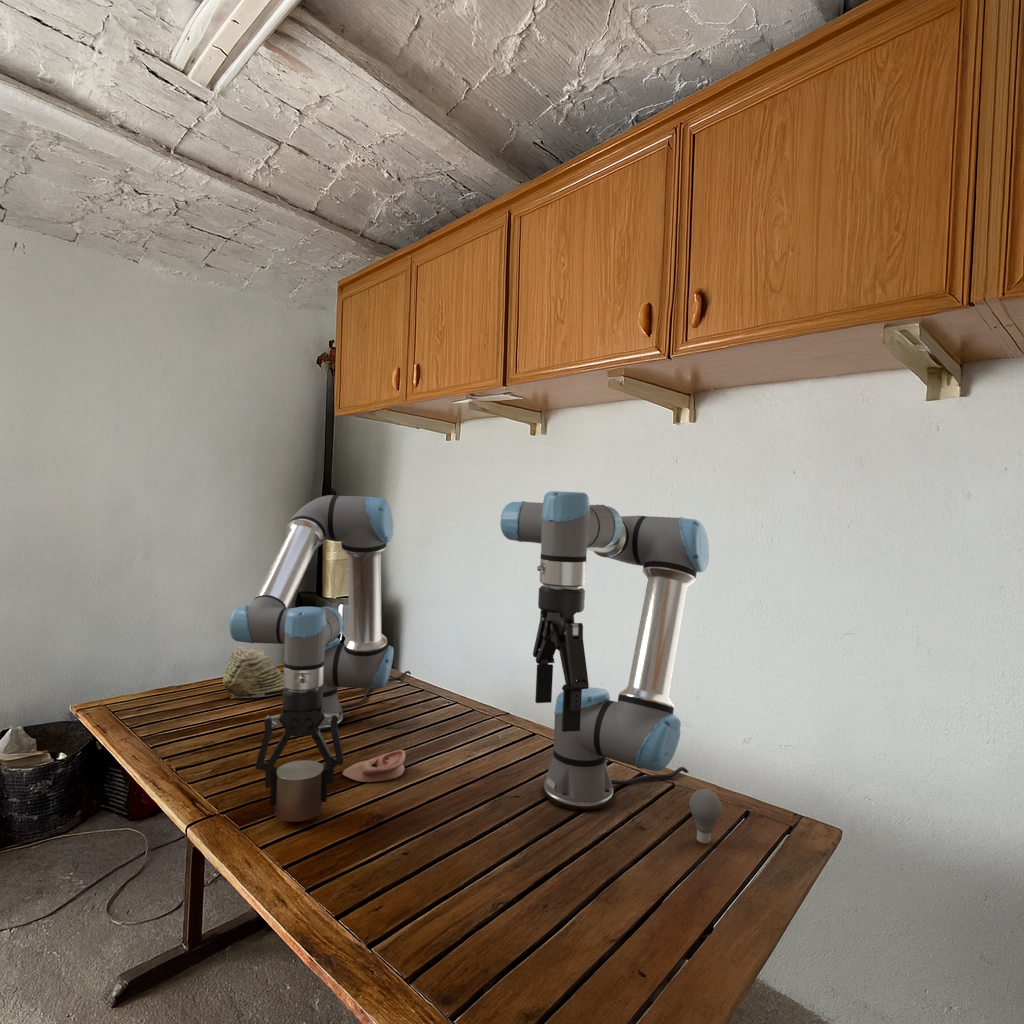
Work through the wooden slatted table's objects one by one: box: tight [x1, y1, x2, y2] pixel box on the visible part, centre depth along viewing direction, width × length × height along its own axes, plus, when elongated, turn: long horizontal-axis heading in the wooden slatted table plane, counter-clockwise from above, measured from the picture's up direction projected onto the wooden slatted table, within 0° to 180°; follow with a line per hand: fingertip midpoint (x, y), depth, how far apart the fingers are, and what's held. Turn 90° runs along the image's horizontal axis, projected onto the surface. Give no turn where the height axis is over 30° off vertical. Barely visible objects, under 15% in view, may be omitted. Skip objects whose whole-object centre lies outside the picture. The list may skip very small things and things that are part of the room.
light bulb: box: [688, 788, 723, 844], centre depth 122 cm, size 6×6×10 cm
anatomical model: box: [342, 749, 406, 783], centre depth 146 cm, size 13×4×12 cm
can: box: [274, 759, 324, 823], centre depth 124 cm, size 9×9×8 cm
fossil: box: [222, 646, 285, 699], centre depth 198 cm, size 9×18×15 cm, turn 132°
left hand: (299, 800), depth 124 cm, fingers closed on can, 9 cm apart
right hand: (556, 715), depth 104 cm, fingers open, 13 cm apart
